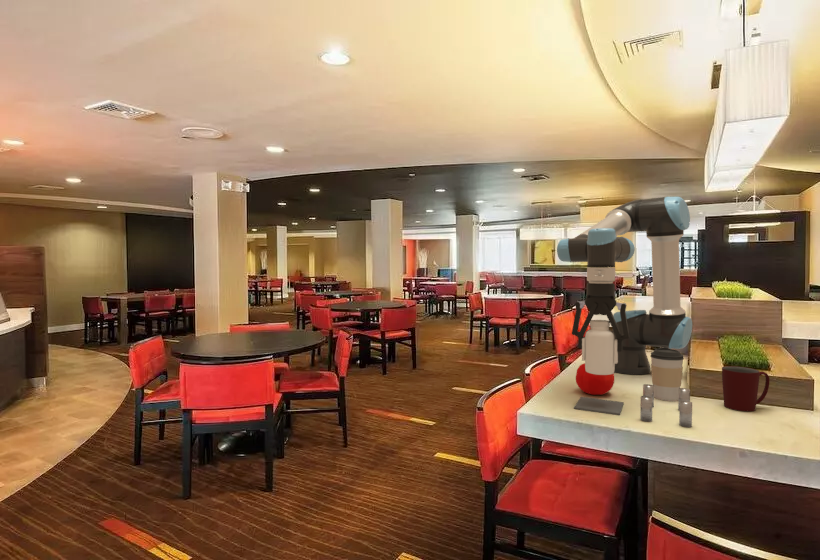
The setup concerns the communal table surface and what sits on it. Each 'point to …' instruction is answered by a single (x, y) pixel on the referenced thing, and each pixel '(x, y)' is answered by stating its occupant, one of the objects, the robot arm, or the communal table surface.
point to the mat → (599, 405)
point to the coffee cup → (666, 373)
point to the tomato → (593, 382)
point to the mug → (742, 387)
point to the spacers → (683, 405)
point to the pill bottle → (599, 348)
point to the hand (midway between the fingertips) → (599, 361)
